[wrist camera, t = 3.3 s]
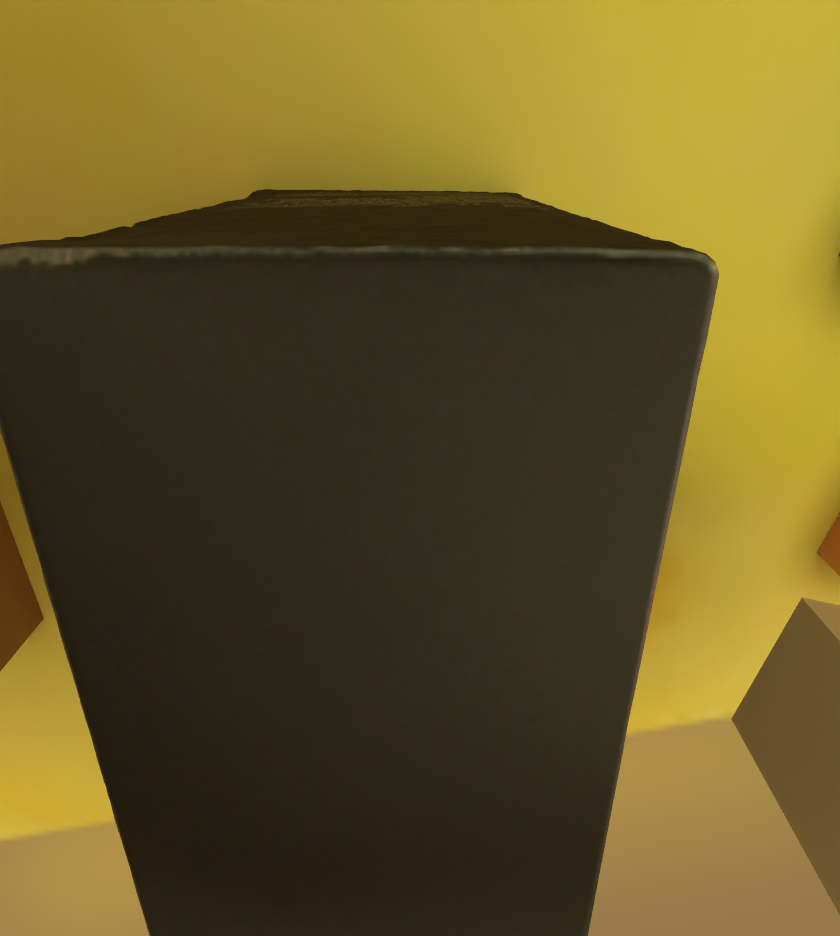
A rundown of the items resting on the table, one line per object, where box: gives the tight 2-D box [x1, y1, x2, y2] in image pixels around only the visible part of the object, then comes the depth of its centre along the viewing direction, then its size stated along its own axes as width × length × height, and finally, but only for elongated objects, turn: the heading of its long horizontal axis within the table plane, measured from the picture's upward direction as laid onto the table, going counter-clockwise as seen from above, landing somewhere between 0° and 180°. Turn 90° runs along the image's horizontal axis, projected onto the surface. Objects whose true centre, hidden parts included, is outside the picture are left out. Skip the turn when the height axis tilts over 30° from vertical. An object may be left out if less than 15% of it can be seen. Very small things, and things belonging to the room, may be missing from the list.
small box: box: [0, 189, 719, 936], centre depth 12 cm, size 11×6×10 cm, turn 0°
